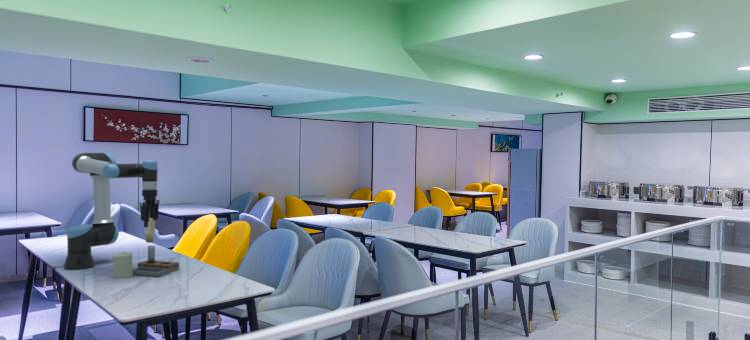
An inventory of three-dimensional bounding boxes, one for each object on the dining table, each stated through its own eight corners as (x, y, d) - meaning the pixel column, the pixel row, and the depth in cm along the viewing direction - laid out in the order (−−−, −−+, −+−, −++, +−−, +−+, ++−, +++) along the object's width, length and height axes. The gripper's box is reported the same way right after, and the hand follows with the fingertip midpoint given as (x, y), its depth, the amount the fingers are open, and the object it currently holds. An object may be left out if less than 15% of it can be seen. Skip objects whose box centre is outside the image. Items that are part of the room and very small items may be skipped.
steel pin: (146, 269, 293) (146, 246, 293) (150, 268, 297) (150, 245, 296) (152, 270, 292) (152, 247, 292) (156, 268, 296) (156, 246, 295)
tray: (129, 274, 281) (129, 270, 281) (140, 271, 290) (140, 266, 290) (158, 277, 277) (158, 272, 277) (169, 273, 285) (169, 269, 285)
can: (135, 273, 283) (134, 251, 282) (129, 278, 274) (128, 255, 273) (118, 273, 282) (116, 251, 281) (111, 278, 273) (109, 255, 272)
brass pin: (144, 242, 281) (144, 218, 281) (149, 241, 285) (149, 217, 284) (150, 242, 280) (150, 218, 280) (154, 241, 284) (154, 217, 284)
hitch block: (137, 270, 292) (137, 263, 291) (148, 267, 300) (148, 260, 300) (168, 273, 287) (168, 265, 287) (178, 269, 295) (178, 262, 295)
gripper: (145, 190, 273) (145, 235, 274) (165, 188, 289) (165, 230, 290) (133, 189, 275) (133, 234, 275) (153, 187, 291) (153, 230, 292)
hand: (149, 232), depth 283 cm, fingers closed on brass pin, 4 cm apart
